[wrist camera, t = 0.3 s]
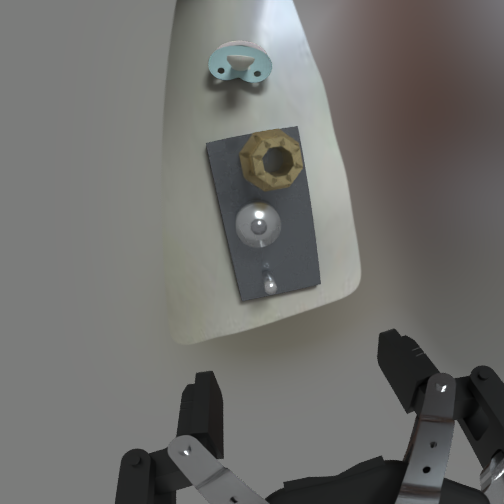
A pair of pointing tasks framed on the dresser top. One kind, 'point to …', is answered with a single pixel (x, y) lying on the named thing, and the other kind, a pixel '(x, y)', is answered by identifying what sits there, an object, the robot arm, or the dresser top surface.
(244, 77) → the pacifier
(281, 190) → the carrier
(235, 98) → the dresser top surface
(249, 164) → the brass octagonal tube
